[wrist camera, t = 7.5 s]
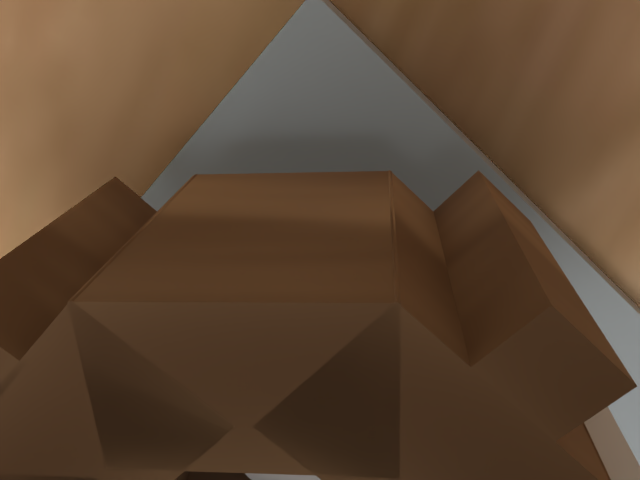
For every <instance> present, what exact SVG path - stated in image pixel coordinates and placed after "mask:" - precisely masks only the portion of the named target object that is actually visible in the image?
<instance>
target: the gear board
mask: <svg viewBox="0 0 640 480" xmlns="http://www.w3.org/2000/svg"><path fill="white" fill-rule="evenodd" d="M389 170H390V171H392V173H393V174H394V175H395V176H396V177H397V178H398V179H400V180H401V181H402V182H403V183H404V184H405V185H406V186H407V187H408V188H409V189H410V190H411V191H412V192H413V193H414V194H415V195H417V196H418V197H419V198H420V199H421V200H422V201H423V202H424V203H425V204H426V205H427V206H428V207H429V208H430V209H431V210H432V211H434V210H436V209H437V208H438V207H439V206H440V205H441V204H442V203H443V202H444V201H445V200H446V199H448V198H449V197H450V196H451V195H452V194H453V193H454V192H455V191H456V190H457V189H458V188H460V187H461V186H462V185H463V184H464V183H465V182H466V181H467V180H468V179H469V178H470V177H472V176H473V175H474V174H475V173H476V172H477V171H478V170H479V171H480V172H481V173H482V174H483V175H484V176H485V177H486V178H487V179H488V180H489V181H490V182H491V183H492V184H493V185H494V186H495V187H496V188H497V189H498V190H499V191H500V192H501V193H502V194H503V195H504V196H505V197H506V198H507V199H508V200H509V201H510V202H512V203H513V204H514V205H515V206H516V207H517V208H518V209H519V210H520V211H521V212H522V213H523V214H524V215H525V216H526V217H527V218H528V219H529V220H530V221H531V223H532V224H533V226H534V227H535V229H536V230H537V232H538V234H539V235H540V237H541V238H542V240H543V241H544V243H545V244H546V246H547V247H548V249H549V251H550V252H551V254H552V255H553V257H554V258H555V260H556V261H557V263H558V264H559V266H560V268H561V269H562V271H563V272H564V274H565V275H566V277H567V278H568V280H569V281H570V283H571V285H572V286H573V288H574V289H575V291H576V292H577V294H578V295H579V297H580V298H581V300H582V302H583V303H584V305H585V306H586V308H587V309H588V311H589V312H590V314H591V315H592V317H593V319H594V320H595V322H596V323H597V325H598V326H599V328H600V329H601V331H602V332H603V334H604V336H605V337H606V339H607V340H608V342H609V343H610V345H611V346H612V348H613V349H614V351H615V353H616V354H617V356H618V357H619V359H620V360H621V362H622V363H623V365H624V366H625V368H626V370H627V371H628V373H629V374H630V376H631V377H632V379H633V380H634V382H635V383H636V385H637V387H636V388H634V389H633V390H631V391H630V392H628V393H627V394H625V395H624V396H622V397H621V398H619V399H618V400H616V401H615V402H613V403H612V404H611V405H609V406H608V408H609V410H610V412H611V413H612V415H613V417H614V419H615V421H616V423H617V425H618V426H619V428H620V430H621V432H622V434H623V436H624V438H625V439H626V441H627V443H628V445H629V447H630V449H631V451H632V452H633V454H634V456H635V458H636V460H637V462H638V464H639V465H640V308H639V307H638V306H637V305H636V304H635V303H634V302H633V301H632V300H631V299H630V298H629V297H628V296H627V295H626V294H625V293H624V292H623V291H622V290H621V289H620V288H619V287H618V286H616V285H615V284H614V283H613V282H612V281H611V280H610V279H609V278H608V277H607V276H606V275H605V274H604V273H603V272H602V271H601V270H600V269H599V268H598V267H597V266H596V265H595V264H594V263H593V262H592V261H591V260H590V259H589V258H588V257H587V256H586V255H585V254H584V253H583V252H582V251H581V250H580V249H579V248H578V247H577V246H576V245H575V244H574V243H573V242H572V241H571V240H570V239H569V238H568V237H567V236H566V235H565V234H564V233H563V232H562V231H561V230H560V229H559V228H558V227H557V226H556V225H555V224H554V223H553V222H552V221H551V220H550V219H549V218H548V217H547V216H546V215H545V214H544V213H543V212H542V211H541V210H540V209H539V208H538V207H537V206H536V205H535V204H534V203H533V202H532V201H531V200H530V199H529V198H528V197H527V196H526V195H525V194H524V193H523V192H522V191H521V190H520V189H519V188H518V187H517V186H516V185H515V184H514V183H513V182H512V181H511V180H510V179H509V178H508V177H507V176H506V175H505V174H504V173H503V172H502V171H501V170H500V169H499V168H498V167H497V166H495V165H494V164H493V163H492V162H491V161H490V160H489V159H488V158H487V157H486V156H485V155H484V154H483V153H482V152H481V151H480V150H479V149H478V148H477V147H476V146H475V145H474V144H473V143H472V142H471V141H470V140H469V139H468V138H467V137H466V136H465V135H464V134H463V133H462V132H461V131H460V130H459V129H458V128H457V127H456V126H455V125H454V124H453V123H452V122H451V121H450V120H449V119H448V118H447V117H446V116H445V115H444V114H443V113H442V112H441V111H440V110H439V109H438V108H437V107H436V106H435V105H434V104H433V103H432V102H431V101H430V100H429V99H428V98H427V97H426V96H425V95H424V94H423V93H422V92H421V91H420V90H419V89H418V88H417V87H416V86H415V85H414V84H413V83H412V82H411V81H410V80H409V79H408V78H407V77H406V76H405V75H404V74H403V73H402V72H401V71H400V70H399V69H398V68H397V67H396V66H395V65H394V64H393V63H392V62H391V61H390V60H389V59H388V58H387V57H386V56H385V55H384V54H383V53H382V52H381V51H380V50H379V49H378V48H377V47H376V46H374V45H373V44H372V43H371V42H370V41H369V40H368V39H367V38H366V37H365V36H364V35H363V34H362V33H361V32H360V31H359V30H358V29H357V28H356V27H355V26H354V25H353V24H352V23H351V22H350V21H349V20H348V19H347V18H346V17H345V16H344V15H343V14H342V13H341V12H340V11H339V10H338V9H337V8H336V7H335V6H334V5H333V4H332V3H331V2H330V1H329V0H305V2H304V3H303V4H302V5H301V6H300V8H299V9H298V10H297V11H296V12H295V14H294V15H293V16H292V17H291V18H290V20H289V21H288V22H287V23H286V24H285V26H284V27H283V28H282V29H281V30H280V32H279V33H278V34H277V35H276V36H275V38H274V39H273V40H272V41H271V42H270V44H269V45H268V46H267V47H266V48H265V50H264V51H263V52H262V53H261V54H260V56H259V57H258V58H257V59H256V60H255V62H254V63H253V64H252V65H251V66H250V68H249V69H248V70H247V71H246V72H245V74H244V75H243V76H242V77H241V78H240V80H239V81H238V82H237V83H236V84H235V86H234V87H233V88H232V89H231V90H230V92H229V93H228V94H227V95H226V96H225V98H224V99H223V100H222V101H221V102H220V104H219V105H218V106H217V107H216V108H215V110H214V111H213V112H212V113H211V114H210V116H209V117H208V118H207V119H206V120H205V122H204V123H203V124H202V125H201V126H200V128H199V129H198V130H197V131H196V132H195V134H194V135H193V136H192V137H191V138H190V140H189V141H188V142H187V143H186V144H185V146H184V147H183V148H182V149H181V150H180V152H179V153H178V154H177V155H176V156H175V158H174V159H173V160H172V161H171V162H170V164H169V165H168V166H167V167H166V168H165V170H164V171H163V172H162V173H161V174H160V176H159V177H158V178H157V179H156V180H155V182H154V183H153V184H152V185H151V186H150V188H149V189H148V190H147V191H146V192H145V194H144V195H143V196H142V197H141V198H142V199H143V200H144V201H145V202H146V203H148V204H149V205H150V206H151V207H152V208H154V209H155V210H156V211H158V210H159V209H160V208H161V207H162V206H163V205H164V204H165V203H166V202H167V201H168V200H169V199H170V198H171V197H172V196H173V195H174V194H175V193H176V192H177V191H178V190H179V189H180V188H181V187H182V186H183V185H184V184H185V183H186V182H187V181H188V180H189V179H190V178H191V177H192V176H193V175H195V174H249V173H303V172H357V171H389ZM245 474H246V475H247V477H249V478H250V479H251V480H321V479H319V478H318V477H317V476H315V475H285V474H255V473H245Z"/></svg>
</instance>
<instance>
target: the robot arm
mask: <svg viewBox="0 0 640 480" xmlns="http://www.w3.org/2000/svg"><path fill="white" fill-rule="evenodd" d="M584 424H585V426H586V428H587V430H588V432H589V434H590V436H591V438H592V441H593V443H594V445H595V447H596V449H597V451H598V453H599V455H600V458H601V460H602V462H603V464H604V466H605V468H606V470H607V472H608V475H609V477H610V479H611V480H640V465H639V464H638V462H637V460H636V458H635V456H634V454H633V452H632V451H631V449H630V447H629V445H628V443H627V441H626V439H625V438H624V436H623V434H622V432H621V430H620V428H619V426H618V425H617V423H616V421H615V419H614V417H613V415H612V413H611V412H610V410H609V408H608V407H606V408H605V409H603V410H602V411H600V412H599V413H597V414H596V415H594V416H593V417H591V418H590V419H588V420H587V421H585V422H584Z"/></svg>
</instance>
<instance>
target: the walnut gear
mask: <svg viewBox="0 0 640 480" xmlns="http://www.w3.org/2000/svg"><path fill="white" fill-rule="evenodd" d="M636 387H637V385H636V383H635V382H634V380H633V379H632V377H631V376H630V374H629V373H628V371H627V370H626V368H625V366H624V365H623V363H622V362H621V360H620V359H619V357H618V356H617V354H616V353H615V351H614V349H613V348H612V346H611V345H610V343H609V342H608V340H607V339H606V337H605V336H604V334H603V332H602V331H601V329H600V328H599V326H598V325H597V323H596V322H595V320H594V319H593V317H592V315H591V314H590V312H589V311H588V309H587V308H586V306H585V305H584V303H583V302H582V300H581V298H580V297H579V295H578V294H577V292H576V291H575V289H574V288H573V286H572V285H571V283H570V281H569V280H568V278H567V277H566V275H565V274H564V272H563V271H562V269H561V268H560V266H559V264H558V263H557V261H556V260H555V258H554V257H553V255H552V254H551V252H550V251H549V249H548V247H547V246H546V244H545V243H544V241H543V240H542V238H541V237H540V235H539V234H538V232H537V230H536V229H535V227H534V226H533V224H532V223H531V221H530V220H529V219H528V218H527V217H526V216H525V215H524V214H523V213H522V212H521V211H520V210H519V209H518V208H517V207H516V206H515V205H514V204H513V203H512V202H510V201H509V200H508V199H507V198H506V197H505V196H504V195H503V194H502V193H501V192H500V191H499V190H498V189H497V188H496V187H495V186H494V185H493V184H492V183H491V182H490V181H489V180H488V179H487V178H486V177H485V176H484V175H483V174H482V173H481V172H480V171H479V170H478V171H477V172H476V173H475V174H474V175H473V176H472V177H470V178H469V179H468V180H467V181H466V182H465V183H464V184H463V185H462V186H461V187H460V188H458V189H457V190H456V191H455V192H454V193H453V194H452V195H451V196H450V197H449V198H448V199H446V200H445V201H444V202H443V203H442V204H441V205H440V206H439V207H438V208H437V209H436V210H434V211H432V210H431V209H430V208H429V207H428V206H427V205H426V204H425V203H424V202H423V201H422V200H421V199H420V198H419V197H418V196H417V195H415V194H414V193H413V192H412V191H411V190H410V189H409V188H408V187H407V186H406V185H405V184H404V183H403V182H402V181H401V180H400V179H398V178H397V177H396V176H395V175H394V174H393V173H392V171H390V170H389V171H357V172H303V173H249V174H195V175H193V176H192V177H191V178H190V179H189V180H188V181H187V182H186V183H185V184H184V185H183V186H182V187H181V188H180V189H179V190H178V191H177V192H176V193H175V194H174V195H173V196H172V197H171V198H170V199H169V200H168V201H167V202H166V203H165V204H164V205H163V206H162V207H161V208H160V209H159V210H158V211H156V210H155V209H154V208H152V207H151V206H150V205H149V204H148V203H146V202H145V201H144V200H143V199H142V198H140V197H139V196H138V195H137V194H136V193H134V192H133V191H132V190H131V189H130V188H128V187H127V186H126V185H125V184H124V183H122V182H121V181H120V180H119V179H118V178H116V177H115V178H113V179H112V180H110V181H109V182H108V183H106V184H105V185H103V186H102V187H101V188H99V189H98V190H96V191H95V192H94V193H92V194H91V195H89V196H88V197H87V198H85V199H84V200H82V201H81V202H80V203H78V204H77V205H75V206H74V207H73V208H71V209H70V210H68V211H67V212H66V213H64V214H63V215H61V216H60V217H59V218H57V219H56V220H54V221H53V222H51V223H50V224H49V225H47V226H46V227H44V228H43V229H42V230H40V231H39V232H37V233H36V234H35V235H33V236H32V237H30V238H29V239H28V240H26V241H25V242H23V243H22V244H21V245H19V246H18V247H16V248H15V249H14V250H12V251H11V252H9V253H8V254H7V255H5V256H4V257H2V258H1V259H0V480H251V479H250V478H249V477H247V475H246V474H245V473H255V474H285V475H315V476H317V477H318V478H319V479H321V480H611V479H610V477H609V475H608V472H607V470H606V468H605V466H604V464H603V462H602V460H601V458H600V455H599V453H598V451H597V449H596V447H595V445H594V443H593V441H592V438H591V436H590V434H589V432H588V430H587V428H586V426H585V424H584V422H585V421H587V420H588V419H590V418H591V417H593V416H594V415H596V414H597V413H599V412H600V411H602V410H603V409H605V408H606V407H608V406H609V405H611V404H612V403H613V402H615V401H616V400H618V399H619V398H621V397H622V396H624V395H625V394H627V393H628V392H630V391H631V390H633V389H634V388H636Z"/></svg>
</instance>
